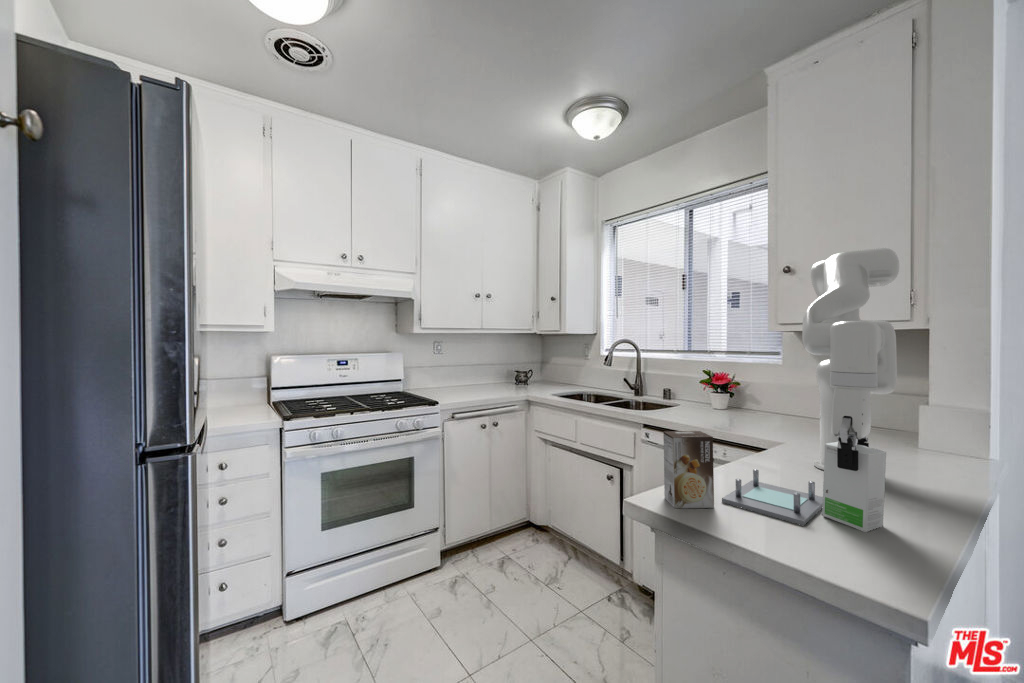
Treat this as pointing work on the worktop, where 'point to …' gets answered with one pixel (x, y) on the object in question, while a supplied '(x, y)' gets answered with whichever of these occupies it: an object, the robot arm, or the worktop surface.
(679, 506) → the coffee box
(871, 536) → the worktop surface
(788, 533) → the worktop surface
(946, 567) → the worktop surface
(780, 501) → the grey base plate
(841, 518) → the skincare box
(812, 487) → the guide pins
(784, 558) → the worktop surface
